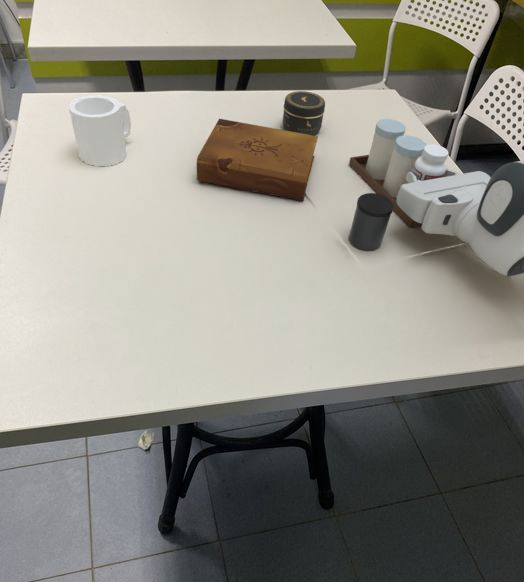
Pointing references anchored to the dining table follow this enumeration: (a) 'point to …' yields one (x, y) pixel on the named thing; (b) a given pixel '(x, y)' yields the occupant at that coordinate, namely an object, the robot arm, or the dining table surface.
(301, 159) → the diary
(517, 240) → the robot arm
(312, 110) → the jar
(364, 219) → the grey tin
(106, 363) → the dining table surface
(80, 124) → the mug
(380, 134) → the white bottle
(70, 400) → the dining table surface
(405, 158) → the white bottle
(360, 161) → the tray
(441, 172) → the pill bottle
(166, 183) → the dining table surface
